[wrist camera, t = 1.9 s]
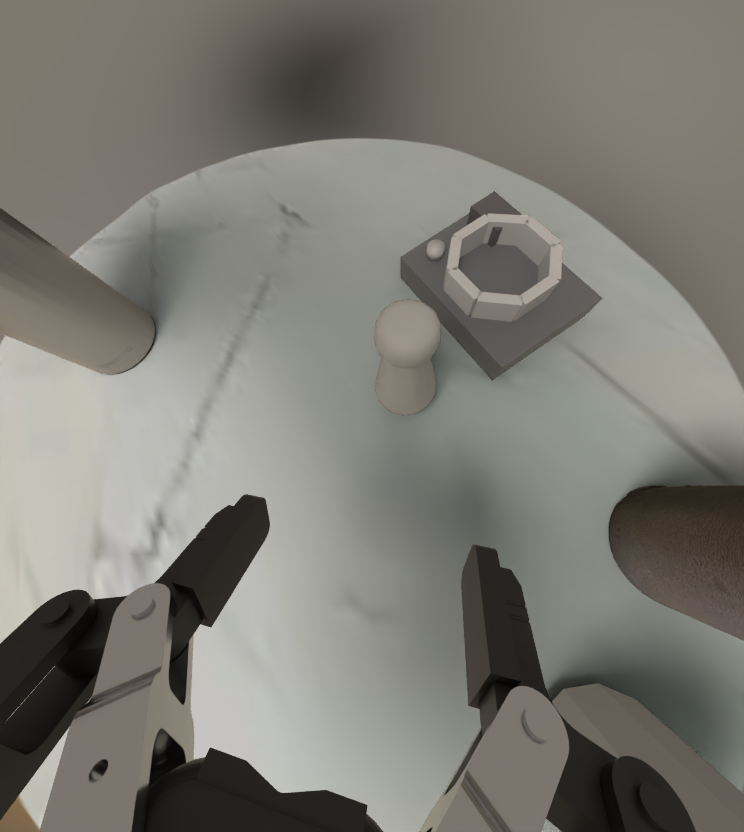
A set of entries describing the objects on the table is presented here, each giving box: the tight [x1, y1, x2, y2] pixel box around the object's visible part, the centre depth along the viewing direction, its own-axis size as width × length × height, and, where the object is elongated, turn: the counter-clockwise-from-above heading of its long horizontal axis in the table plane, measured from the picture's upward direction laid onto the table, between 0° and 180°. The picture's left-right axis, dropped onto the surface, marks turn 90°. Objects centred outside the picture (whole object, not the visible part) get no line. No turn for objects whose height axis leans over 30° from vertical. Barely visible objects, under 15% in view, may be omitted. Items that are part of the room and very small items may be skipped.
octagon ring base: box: [401, 191, 602, 380], centre depth 29 cm, size 16×12×6 cm
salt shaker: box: [374, 299, 441, 415], centre depth 24 cm, size 6×6×13 cm
